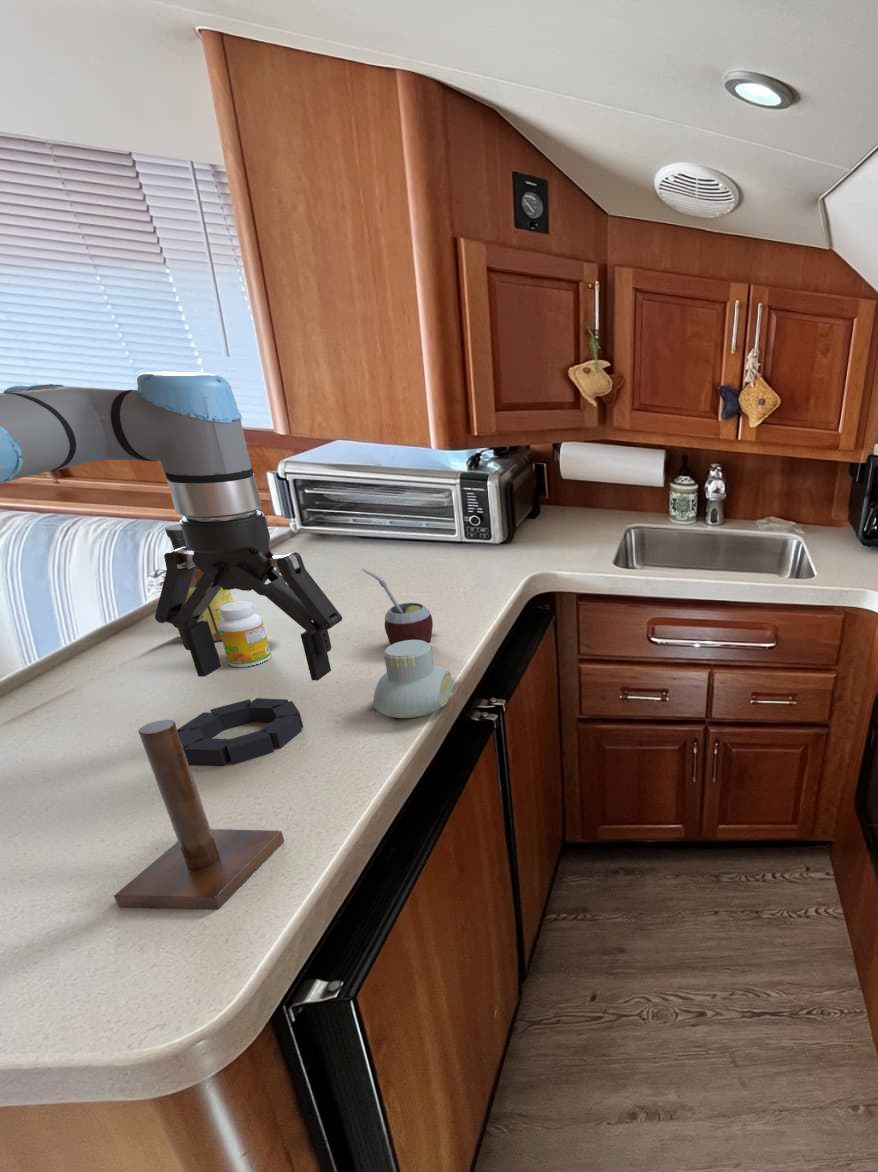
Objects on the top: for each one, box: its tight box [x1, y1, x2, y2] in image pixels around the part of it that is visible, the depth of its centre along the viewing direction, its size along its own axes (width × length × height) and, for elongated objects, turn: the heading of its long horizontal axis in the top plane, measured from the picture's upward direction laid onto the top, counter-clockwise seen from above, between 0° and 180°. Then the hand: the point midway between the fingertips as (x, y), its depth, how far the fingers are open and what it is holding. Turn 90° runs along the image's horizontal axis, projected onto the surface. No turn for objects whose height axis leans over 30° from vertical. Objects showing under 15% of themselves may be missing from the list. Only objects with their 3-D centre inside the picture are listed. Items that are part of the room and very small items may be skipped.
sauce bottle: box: [164, 523, 234, 642], centre depth 106 cm, size 6×6×20 cm
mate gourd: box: [361, 568, 434, 645], centre depth 108 cm, size 8×8×15 cm
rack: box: [113, 719, 285, 910], centre depth 61 cm, size 9×9×18 cm
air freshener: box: [373, 640, 452, 719], centre depth 93 cm, size 11×8×10 cm
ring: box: [177, 697, 304, 767], centre depth 84 cm, size 12×12×2 cm
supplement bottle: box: [218, 600, 272, 668], centre depth 101 cm, size 5×5×10 cm
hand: (266, 673), depth 82 cm, fingers open, 13 cm apart
